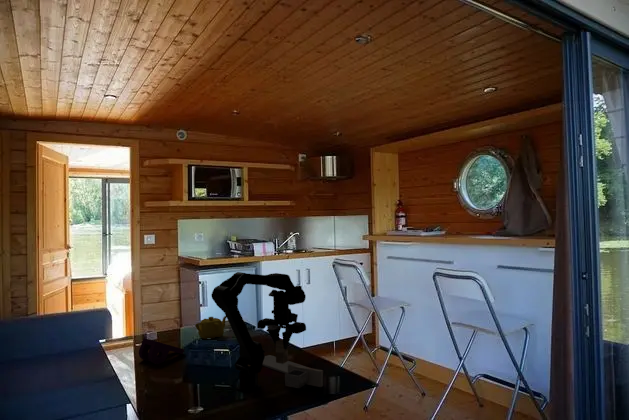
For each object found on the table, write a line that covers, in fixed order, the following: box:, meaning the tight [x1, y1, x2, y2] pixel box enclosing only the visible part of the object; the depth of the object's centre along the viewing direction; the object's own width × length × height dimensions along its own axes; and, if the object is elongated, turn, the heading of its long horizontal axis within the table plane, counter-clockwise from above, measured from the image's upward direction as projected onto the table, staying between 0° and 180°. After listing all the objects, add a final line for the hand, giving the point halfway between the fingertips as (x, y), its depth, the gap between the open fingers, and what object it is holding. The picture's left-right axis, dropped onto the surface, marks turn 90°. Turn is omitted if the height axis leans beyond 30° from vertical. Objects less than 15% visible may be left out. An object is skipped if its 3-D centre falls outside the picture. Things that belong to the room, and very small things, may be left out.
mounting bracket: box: [138, 337, 185, 365], centre depth 194 cm, size 10×8×18 cm
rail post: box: [275, 338, 289, 364], centre depth 170 cm, size 3×3×8 cm
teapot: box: [194, 315, 227, 340], centre depth 228 cm, size 14×13×10 cm
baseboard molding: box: [262, 354, 327, 375], centre depth 181 cm, size 31×3×12 cm
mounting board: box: [288, 364, 324, 388], centre depth 163 cm, size 2×14×6 cm, turn 60°
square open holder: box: [284, 369, 308, 389], centre depth 159 cm, size 8×6×4 cm
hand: (281, 348), depth 170 cm, fingers closed on rail post, 3 cm apart
